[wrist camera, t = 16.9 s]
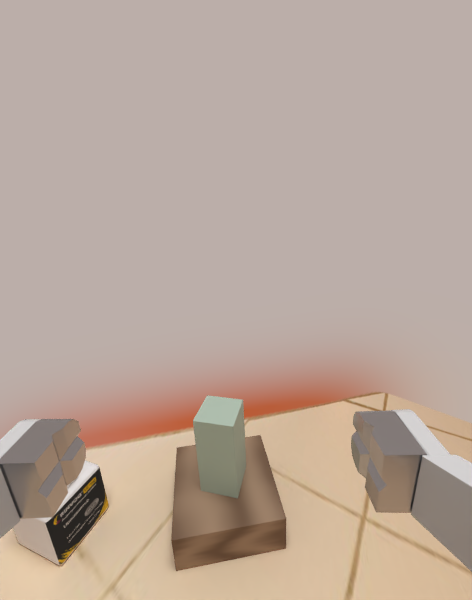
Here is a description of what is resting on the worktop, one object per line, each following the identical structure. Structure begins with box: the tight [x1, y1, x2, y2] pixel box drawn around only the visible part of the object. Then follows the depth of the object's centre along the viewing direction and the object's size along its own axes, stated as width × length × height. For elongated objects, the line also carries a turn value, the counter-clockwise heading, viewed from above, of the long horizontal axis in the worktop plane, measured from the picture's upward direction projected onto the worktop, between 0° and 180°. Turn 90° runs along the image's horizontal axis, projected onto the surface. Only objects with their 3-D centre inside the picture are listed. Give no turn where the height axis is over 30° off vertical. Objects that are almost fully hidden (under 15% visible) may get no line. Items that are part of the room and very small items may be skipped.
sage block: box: [193, 396, 246, 498], centre depth 34 cm, size 4×4×10 cm
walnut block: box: [172, 435, 286, 571], centre depth 36 cm, size 12×12×5 cm
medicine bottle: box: [13, 461, 108, 566], centre depth 34 cm, size 7×7×12 cm
